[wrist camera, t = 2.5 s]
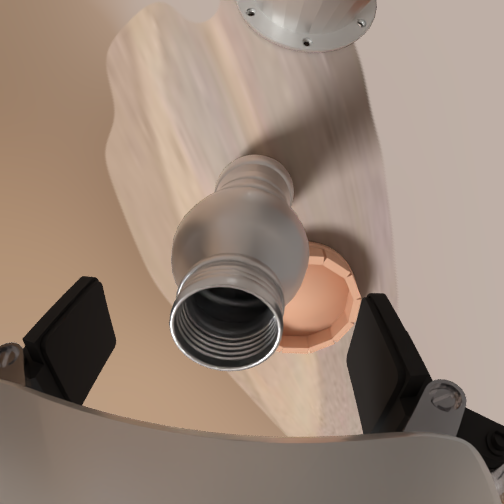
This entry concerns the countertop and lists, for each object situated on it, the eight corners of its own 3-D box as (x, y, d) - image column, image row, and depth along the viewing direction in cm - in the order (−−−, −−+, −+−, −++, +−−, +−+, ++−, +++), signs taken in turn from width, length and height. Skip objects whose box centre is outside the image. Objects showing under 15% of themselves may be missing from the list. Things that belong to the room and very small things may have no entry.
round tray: (243, 237, 29) (240, 250, 27) (364, 244, 29) (372, 257, 26) (241, 334, 35) (239, 352, 32) (343, 337, 34) (348, 354, 31)
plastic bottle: (306, 183, 27) (374, 321, 9) (257, 235, 29) (237, 416, 11) (252, 136, 25) (208, 178, 7) (205, 191, 28) (98, 329, 10)
